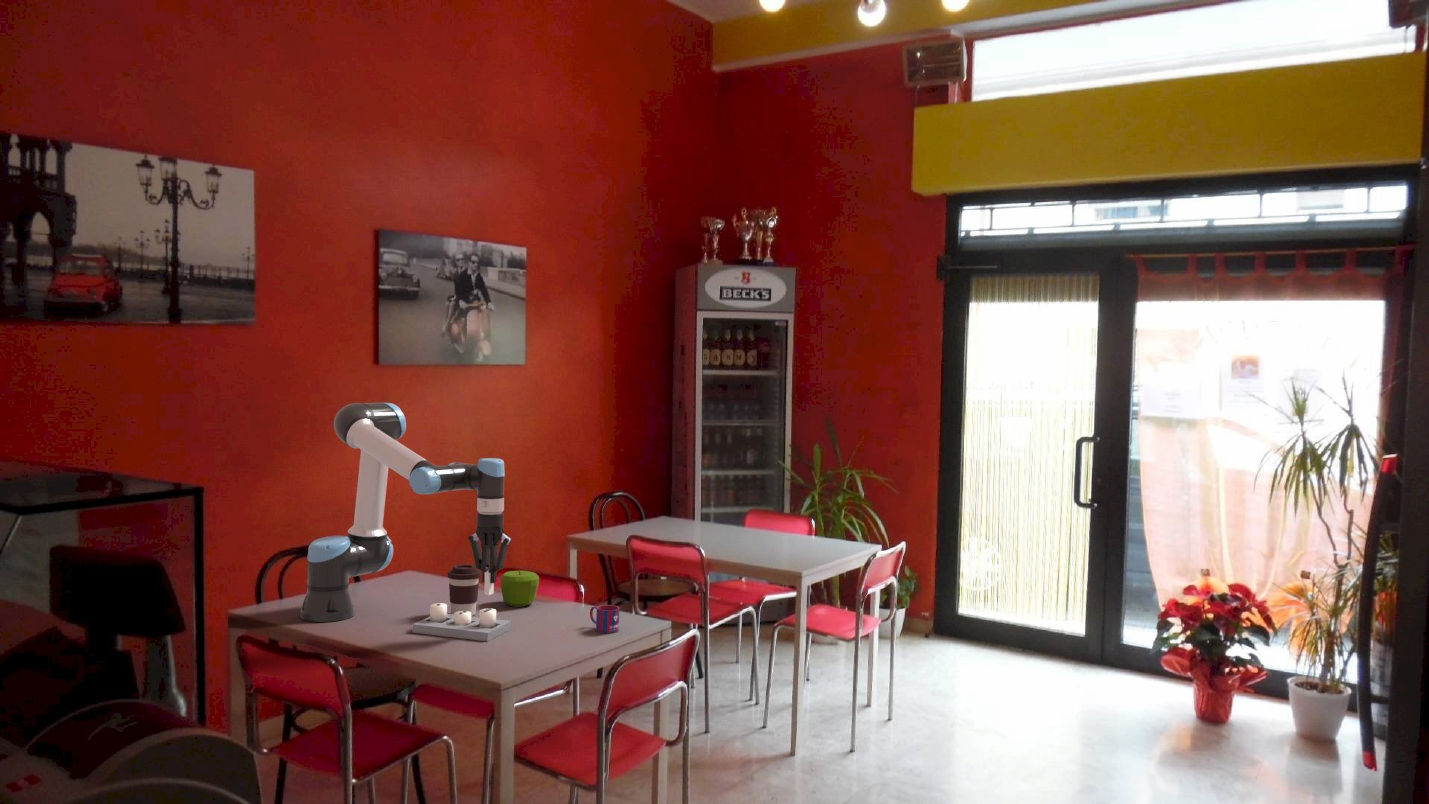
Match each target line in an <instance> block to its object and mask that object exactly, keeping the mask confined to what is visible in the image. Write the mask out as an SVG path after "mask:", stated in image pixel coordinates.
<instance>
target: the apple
mask: <svg viewBox="0 0 1429 804" xmlns="http://www.w3.org/2000/svg"><path fill="white" fill-rule="evenodd" d="M539 584H540V576H539V575H538V574H537V572H533V571H529V570H520V569H519V570H510V571H506V572H504V573H503V574H502V575H501V576H500V588H501V596H502V601H503V602H505V603H506V605H507V606H509V607H512V606H513V607H514V608H520V607H521V608H522V607H526V606H528V605H530V604H531V603H533V602H535V601H536V597H537V592H538V587H539Z"/></svg>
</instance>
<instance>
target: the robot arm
mask: <svg viewBox="0 0 1429 804" xmlns="http://www.w3.org/2000/svg"><path fill="white" fill-rule="evenodd" d="M333 428H334V429H333V430H334V432H335V434H336V436H337V437H338V438H339V440H340V441H341V442H343V443H344V444H346V445H347V446H349V447H350V448H351V449H360V458H359V468H358V469H359V470H358V477H357V478H358V479H357V488H356V498H355V507H354V508H355V509H354V517H353V518H354V519H353V525H352V526H351V527H350V528H349V529H348V530H347V536H346V535H331V536H324V537H320V538H317V539H315V540H313V541H311V543H310V544H309V546H308V551H307V552H308V553H307V557H306V559H307V585H306V586H307V591H306V594H305V597H304V599H303V602H302V604H301V605H302V606H301V608H300V619H301V620H303V621H306V622H312V623H313V622H315V623H316V622H318V623H322V622H323V623H328V622H337V621H342V620H343V621H344V620H347V619H349V618H352V617H354V616H355V606H354V602H353V599H352V595H351V593H350V589H349V588H350V587H349V585H350V584H349V583H350V578H353V577H357V576H362V575H370V574H374V573H377V572H380V571H383V570H384V569H385V568H387V566H389V565H390V563H391V561H392V559H393V556H394V545H393V544H392V540H391V538H390V537H389V536H388V531H387V530H386V529H385V528H384V517H385V516H384V515H385V507H386V506H385V505H386V496H387V495H386V494H387V487H388V485H387V484H388V478H389V477H388V475H389V469H390V470H391V471H394V472H396V473H397V474H398V475H400V476H402V477H403V478H405V479H406V480H408V481H409V486H410V488H411V489H412V491H413V492H414V493H415V494H418V495H433V494H440V493H447V492H453V491H462V490H464V491H465V490H467V491H468V490H469V491H476V492H477V494H476V497H477V499H476V500H477V501H476V503H477V504H476V507H477V508H476V510H477V512H478V513H477V514H476V526H477V527H476V530H475V533H474V534H472V535H471V534H470V535H469V536H468V537H467V539H468V541H469V542H470V545H471V549H472V554H473V560H474V564H475V565H474V566H475V567H476V569H477V570H480V571H481V582H482V583H483V584H484V588H483V589H484V596H490V595H493V594H494V593H495V592H494V589H495V588H494V587H495V586H494V585H495V584H496V582H497V576H498V575H497V572H498V571H500V570H503V568H504V565H505V562H506V557H507V553H508V548H509V545H510V544H511V542H512V540H513V539H512V537H511V536H510V537H509V536H508V535H506V534H505V530H504V521H505V519H504V518H505V517H504V515H505V514H504V513H503V512H504V511H505V479H506V472H505V462H504V460H503V459H501V458H494V457H493V458H492V457H489V458H488V457H487V458H479V459H478V461H477V464H473V463H465V462H461V461H459V462H451V463H448V464H446V465H445V464H443V465H436V464H434V463H432V462H430V461H428V460H427V459H425V458H424V457H422V456H421V455H419V454H418V453H416V452H414V451H413V450H412V449H411V448H409V447H407V446H406V445H404V444H402V443H401V442H399V441H398V440H399V439H400V438H402V437H403V435H405V433H406V430H407V421H406V417H405V413H404V412H402V410H401V408H400V407H399V406H397V405H396V404H395V403H391V402H382V401H380V402H361V403H360V402H353V403H349V404H347V405H344V406H343V407H342V408H341V409H339V410H338V411H337V413H336V414H335V416H334V420H333ZM500 542H501V544H500ZM499 544H500V545H499ZM499 546H500V548H499ZM498 548H499V549H498ZM498 550H499V551H498Z"/></svg>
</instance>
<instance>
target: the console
mask: <svg viewBox="0 0 1429 804" xmlns="http://www.w3.org/2000/svg"><path fill="white" fill-rule="evenodd" d="M510 630H512V620H507V619H506V620H505V619H497V618H496V626H495V627H492V628H482V627H479V616H471V624H469V625H467V626H463V625H454V614H451V613H447V620H446V621H444V622H431V621H430V616H428V617H426V618H424V619H422V620H420V621H417V622H415V623H413V624H412V633H414V634H421V635H422V634H424V635H430V636H431V635H432V636H440V637H447V638H448V637H449V638H450V637H451V638H455V639H464V640H465V639H467V640H473V641H481V642H489V641H491V640H493V639H495V638H497V637H499V636H501V635H503V634H505V633H507V632H508V631H510Z"/></svg>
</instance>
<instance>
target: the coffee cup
mask: <svg viewBox="0 0 1429 804" xmlns="http://www.w3.org/2000/svg"><path fill="white" fill-rule="evenodd" d="M481 577H482V571H481V570H480V569H476V565H473V564H457V565H454V566H453V567H452V569H451V570H448V571H447V578H448V579H449V583H448V588H449V602H450V614H454V613H455V612H458V611H469V612H471V616H472V617H474V615H476V611H477V610H476V609H477V602H478V598H479V587H480V582H479V578H481Z"/></svg>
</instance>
